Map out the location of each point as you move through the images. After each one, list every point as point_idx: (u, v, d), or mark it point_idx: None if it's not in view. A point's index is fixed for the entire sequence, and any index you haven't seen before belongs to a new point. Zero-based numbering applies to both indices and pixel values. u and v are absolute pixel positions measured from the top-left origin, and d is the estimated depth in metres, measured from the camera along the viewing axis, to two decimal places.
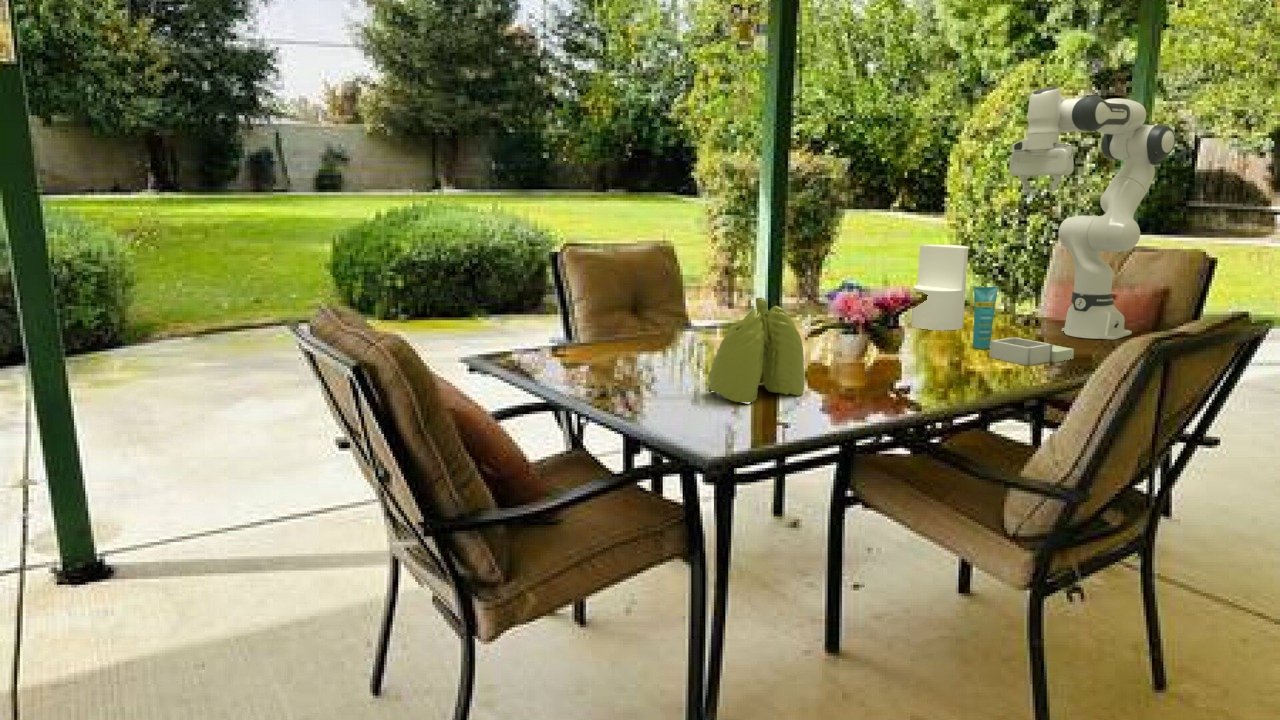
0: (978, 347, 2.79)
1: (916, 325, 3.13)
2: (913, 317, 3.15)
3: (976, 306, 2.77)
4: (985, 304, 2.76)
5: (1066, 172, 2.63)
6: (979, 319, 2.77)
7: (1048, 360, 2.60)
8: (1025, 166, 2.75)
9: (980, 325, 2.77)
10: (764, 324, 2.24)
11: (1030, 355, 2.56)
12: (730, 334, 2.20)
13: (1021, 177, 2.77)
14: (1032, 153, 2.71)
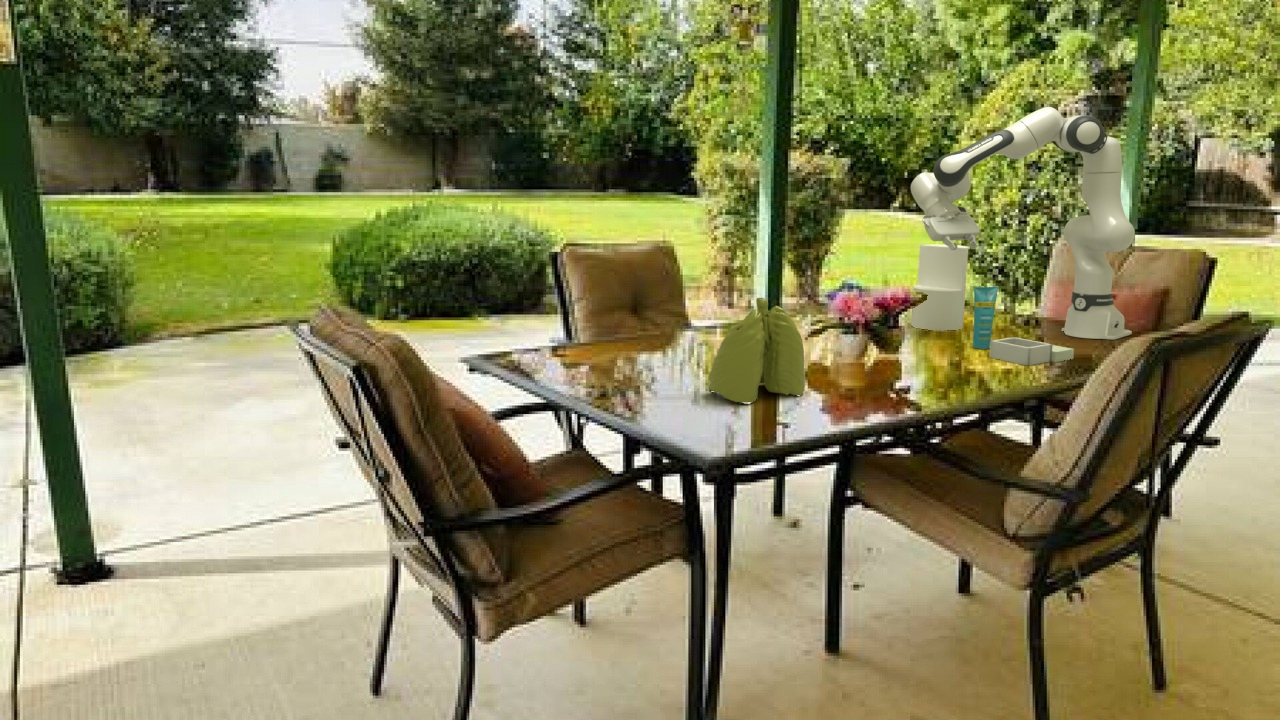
0: (978, 347, 2.79)
1: (916, 325, 3.13)
2: (913, 317, 3.15)
3: (976, 306, 2.77)
4: (985, 304, 2.76)
5: (932, 239, 2.85)
6: (979, 319, 2.77)
7: (1048, 360, 2.60)
8: None
9: (980, 325, 2.77)
10: (765, 324, 2.23)
11: (1030, 355, 2.56)
12: (730, 334, 2.19)
13: None
14: None
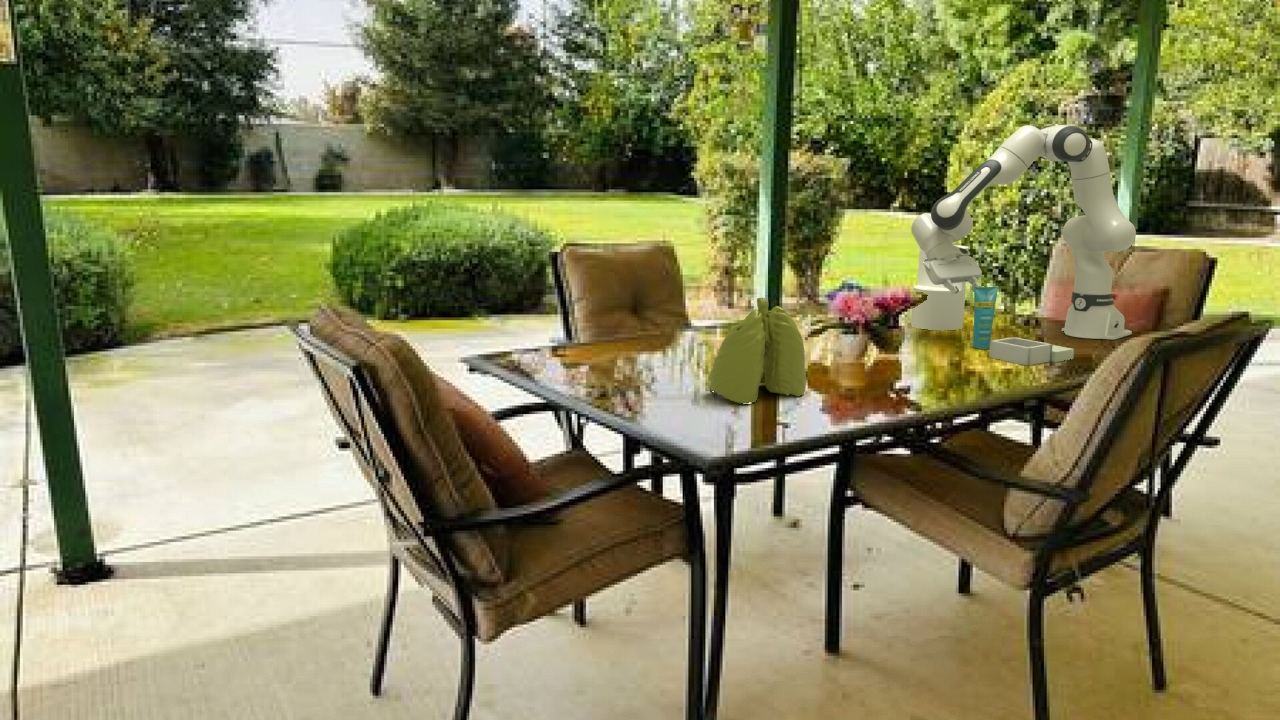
0: (978, 347, 2.79)
1: (916, 325, 3.13)
2: (913, 317, 3.15)
3: (976, 306, 2.77)
4: (985, 304, 2.76)
5: (934, 283, 2.81)
6: (979, 319, 2.77)
7: (1048, 360, 2.60)
8: None
9: (980, 325, 2.77)
10: (765, 324, 2.23)
11: (1030, 355, 2.56)
12: (731, 334, 2.19)
13: None
14: None
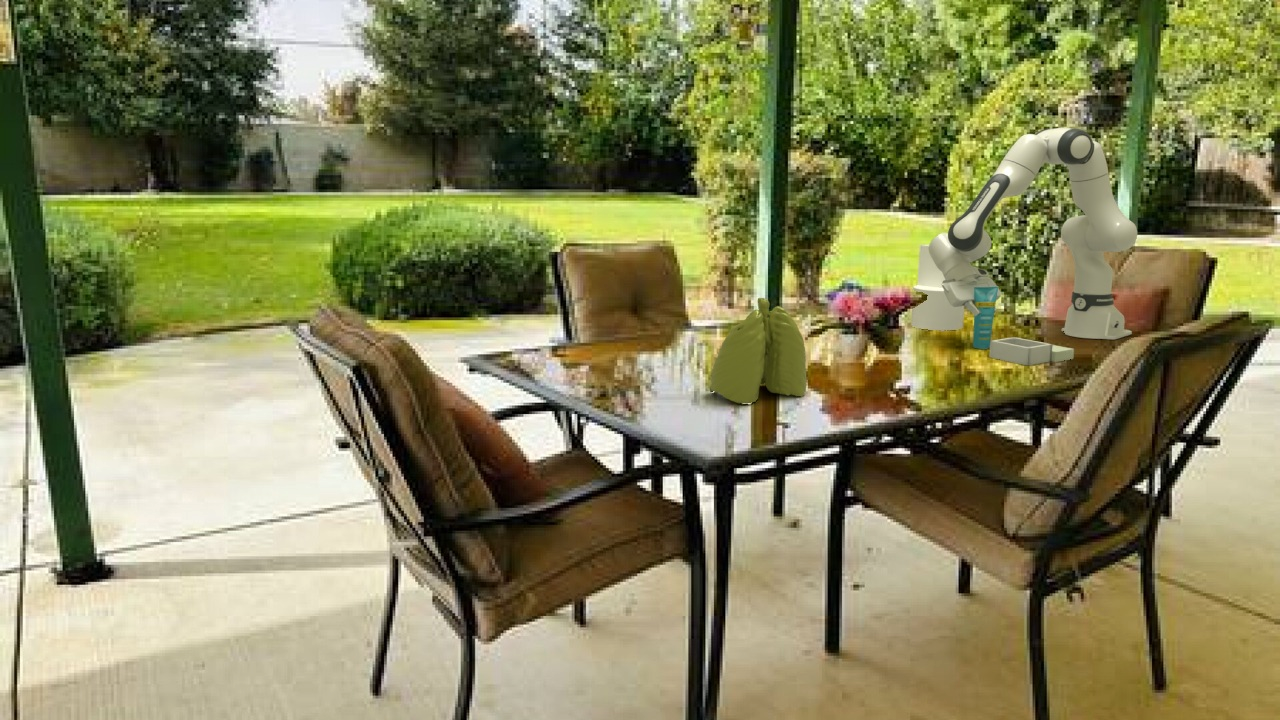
0: (978, 347, 2.79)
1: (916, 325, 3.13)
2: (913, 317, 3.15)
3: (976, 306, 2.77)
4: (985, 304, 2.76)
5: (952, 305, 2.76)
6: (979, 319, 2.77)
7: (1048, 360, 2.60)
8: None
9: (980, 325, 2.77)
10: (766, 324, 2.23)
11: (1030, 355, 2.56)
12: (731, 334, 2.19)
13: None
14: None
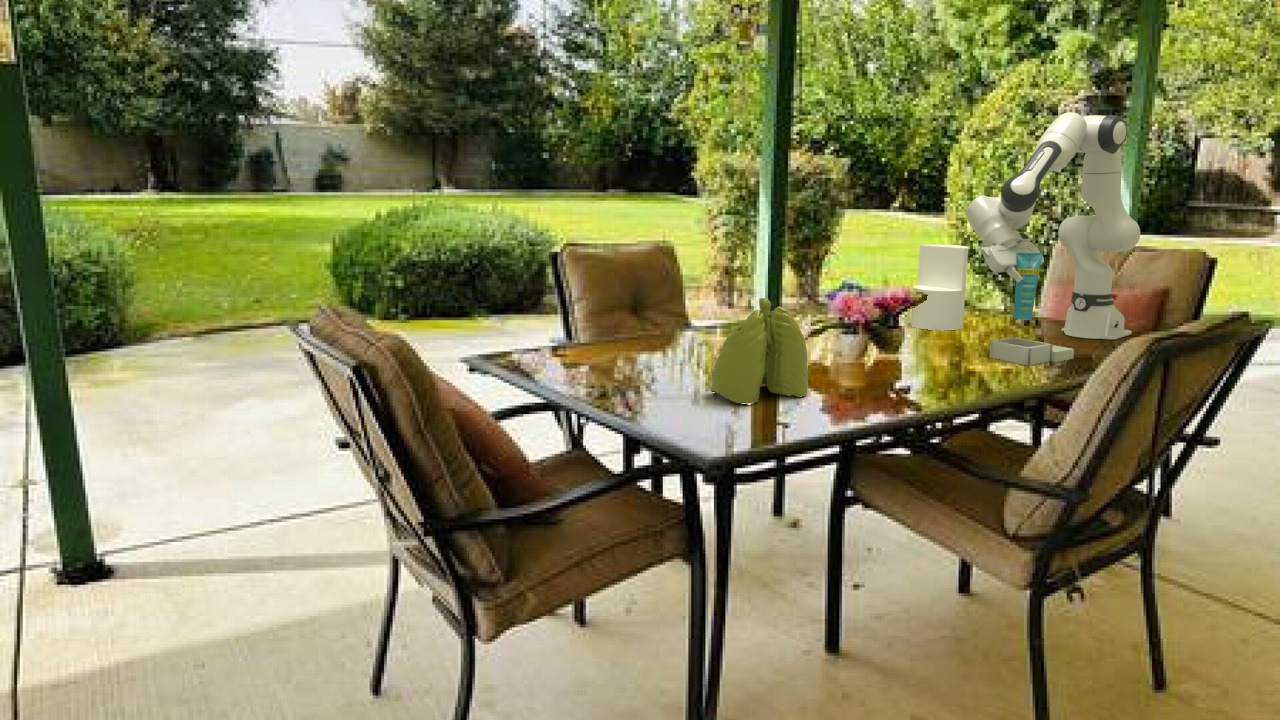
0: (1018, 317, 2.60)
1: (916, 325, 3.13)
2: (913, 317, 3.15)
3: None
4: (1028, 271, 2.58)
5: (993, 270, 2.57)
6: (1021, 287, 2.58)
7: (1048, 360, 2.60)
8: None
9: (1022, 293, 2.58)
10: (767, 325, 2.22)
11: (1030, 355, 2.56)
12: (732, 335, 2.19)
13: None
14: None
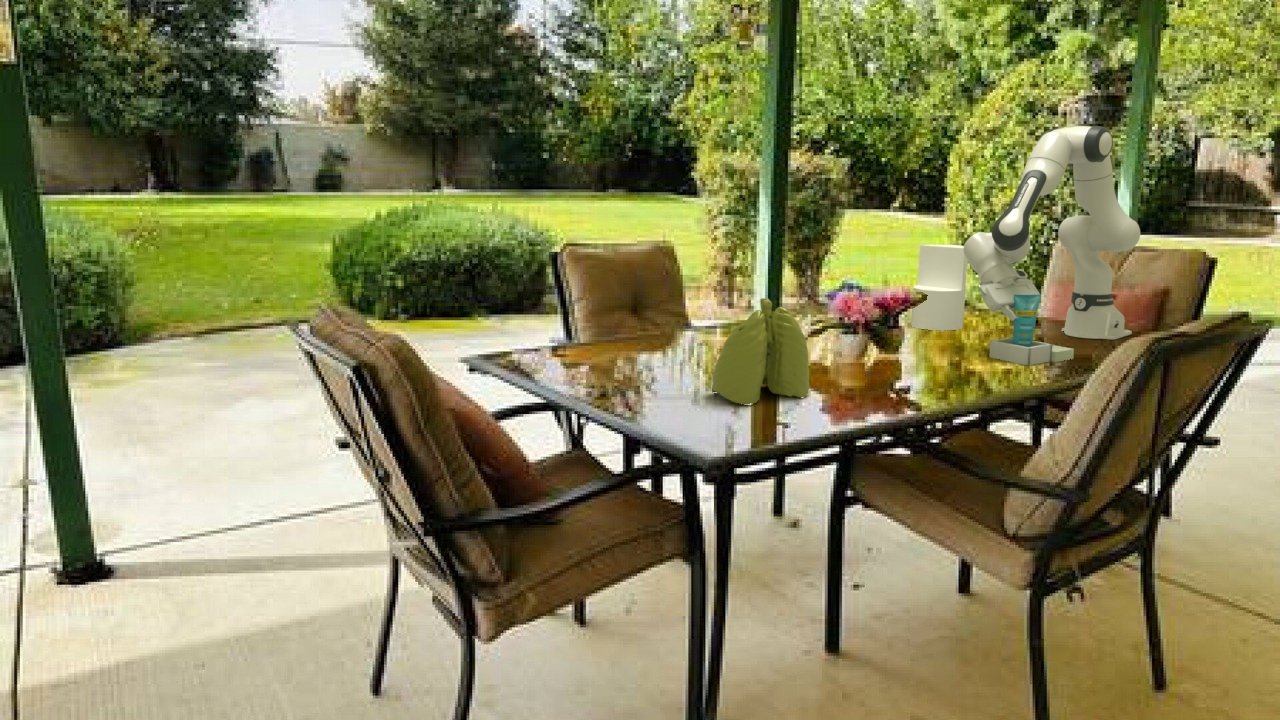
0: None
1: (916, 325, 3.13)
2: (913, 317, 3.15)
3: None
4: (1025, 313, 2.60)
5: (990, 308, 2.59)
6: (1019, 328, 2.61)
7: (1048, 360, 2.60)
8: None
9: (1019, 335, 2.61)
10: (768, 325, 2.22)
11: (1030, 355, 2.56)
12: (733, 335, 2.19)
13: None
14: None
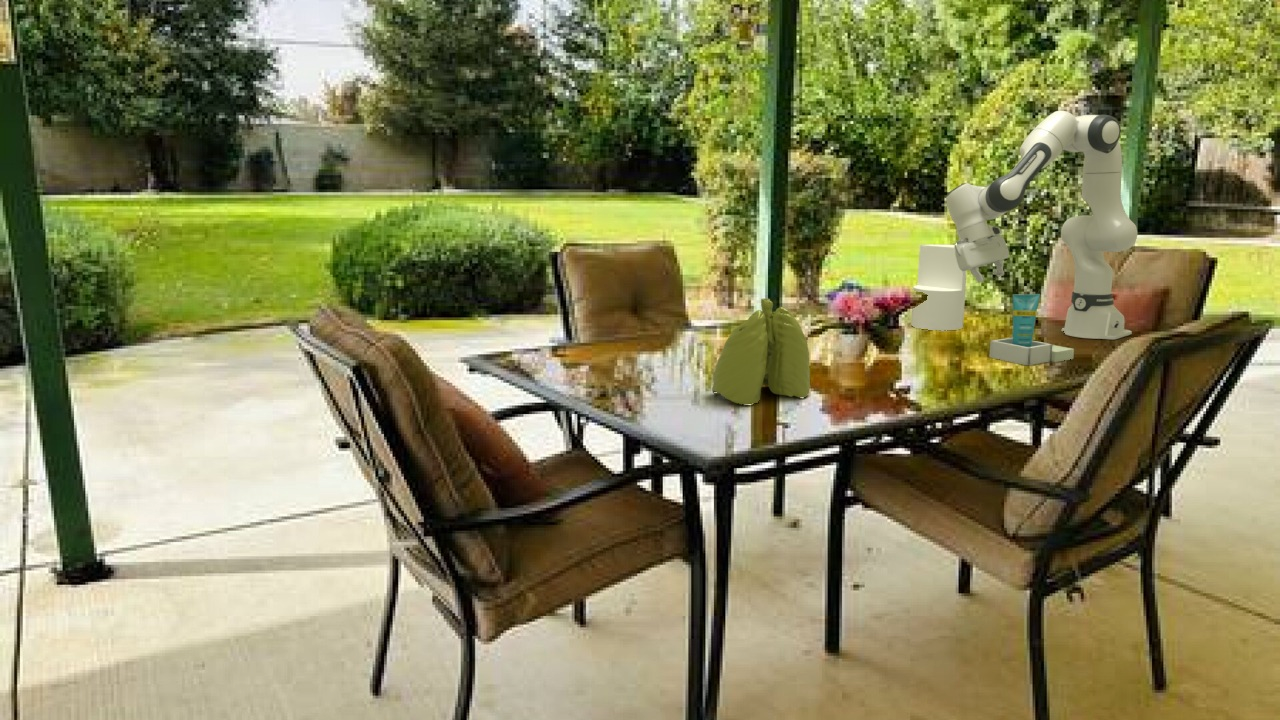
0: None
1: (916, 325, 3.13)
2: (913, 317, 3.15)
3: (1014, 315, 2.61)
4: (1024, 313, 2.60)
5: (961, 269, 2.69)
6: (1018, 328, 2.61)
7: (1048, 360, 2.60)
8: None
9: (1019, 335, 2.61)
10: (769, 325, 2.22)
11: (1030, 355, 2.56)
12: (733, 335, 2.18)
13: None
14: None
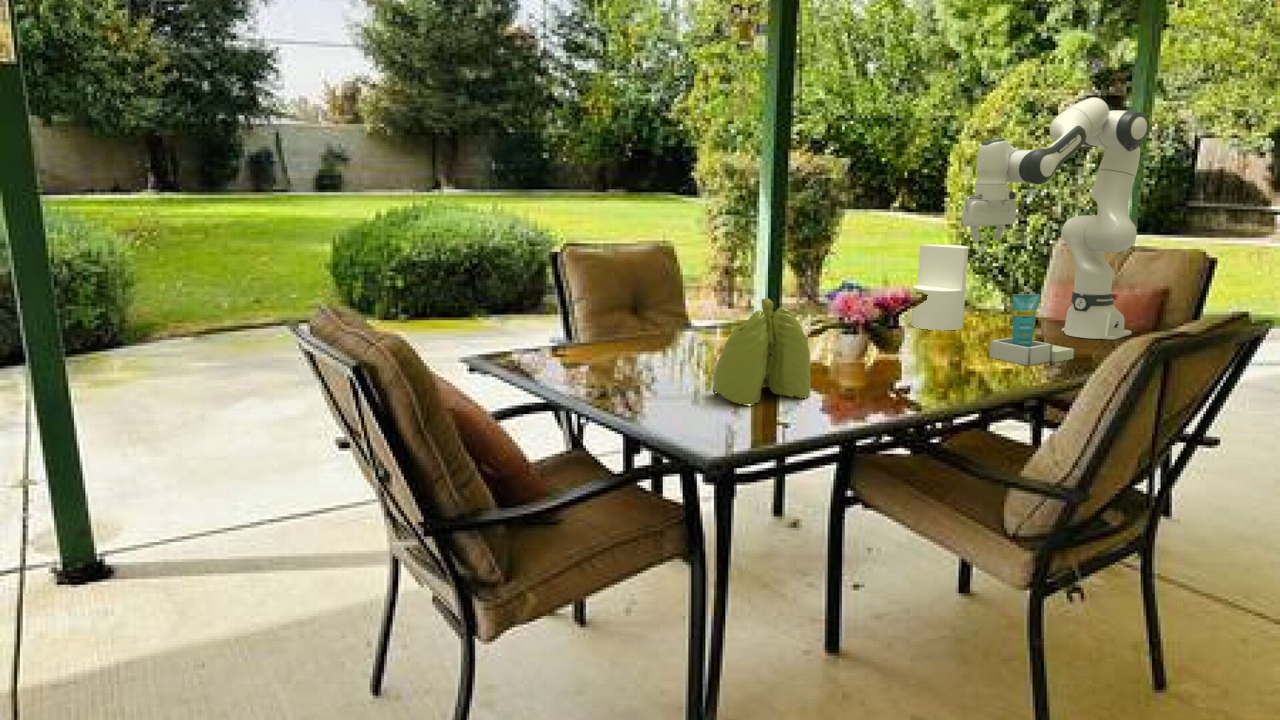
0: None
1: (916, 325, 3.13)
2: (913, 317, 3.15)
3: (1014, 315, 2.61)
4: (1024, 313, 2.60)
5: (962, 224, 2.69)
6: (1018, 328, 2.61)
7: (1048, 360, 2.60)
8: None
9: (1019, 335, 2.61)
10: (769, 325, 2.22)
11: (1030, 355, 2.56)
12: (733, 335, 2.18)
13: None
14: None
